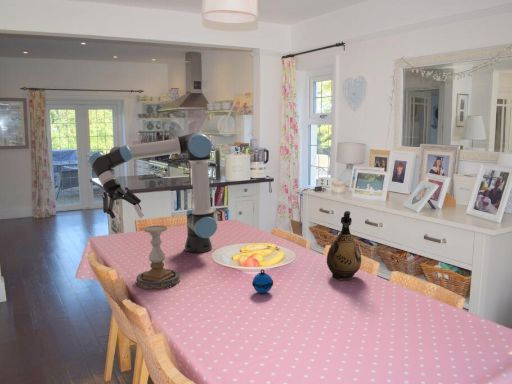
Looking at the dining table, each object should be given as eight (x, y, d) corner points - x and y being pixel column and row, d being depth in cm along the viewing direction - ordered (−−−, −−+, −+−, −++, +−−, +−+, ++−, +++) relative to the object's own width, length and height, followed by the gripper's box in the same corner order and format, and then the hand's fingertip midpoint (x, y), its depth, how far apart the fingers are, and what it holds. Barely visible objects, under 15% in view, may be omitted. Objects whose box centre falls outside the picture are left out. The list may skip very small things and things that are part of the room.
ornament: (255, 297, 190) (255, 273, 189) (250, 290, 198) (249, 267, 197) (275, 295, 192) (275, 271, 191) (269, 287, 201) (269, 265, 199)
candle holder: (140, 282, 208) (137, 229, 204) (156, 274, 217) (153, 224, 213) (160, 285, 203) (157, 231, 199) (175, 277, 212) (173, 226, 209)
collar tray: (182, 274, 220) (181, 268, 219) (177, 288, 201) (176, 282, 201) (141, 275, 219) (140, 269, 219) (132, 290, 200) (132, 283, 200)
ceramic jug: (361, 283, 204) (362, 216, 199) (325, 281, 207) (326, 215, 202) (360, 271, 220) (361, 208, 216) (327, 269, 223) (328, 207, 219)
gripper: (127, 182, 235) (147, 217, 231) (83, 191, 215) (104, 230, 211) (134, 173, 230) (154, 210, 226) (90, 182, 210) (111, 222, 207)
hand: (130, 220), depth 219 cm, fingers open, 13 cm apart
